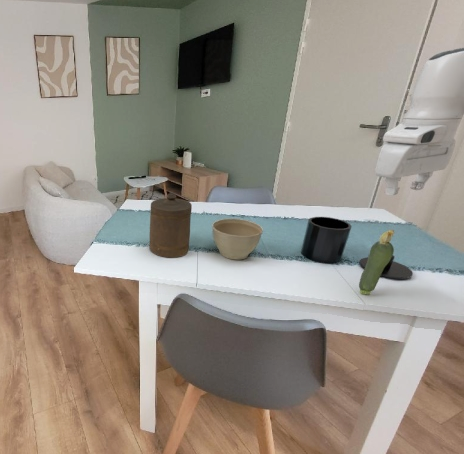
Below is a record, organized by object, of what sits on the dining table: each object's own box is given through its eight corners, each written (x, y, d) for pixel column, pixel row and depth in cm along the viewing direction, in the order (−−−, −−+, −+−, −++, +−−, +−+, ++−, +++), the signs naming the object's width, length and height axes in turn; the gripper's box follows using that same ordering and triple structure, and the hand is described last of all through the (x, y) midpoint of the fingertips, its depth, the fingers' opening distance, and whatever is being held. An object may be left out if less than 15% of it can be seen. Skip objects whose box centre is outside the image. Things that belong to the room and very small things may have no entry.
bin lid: (421, 275, 88) (428, 260, 86) (394, 284, 85) (400, 269, 83) (375, 257, 99) (379, 243, 97) (349, 264, 96) (353, 250, 94)
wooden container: (183, 239, 118) (187, 187, 110) (193, 257, 105) (198, 199, 96) (147, 240, 119) (147, 189, 110) (152, 258, 105) (153, 201, 97)
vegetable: (354, 287, 84) (377, 223, 76) (374, 291, 82) (399, 226, 74) (357, 295, 81) (381, 230, 73) (377, 299, 79) (404, 233, 71)
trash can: (349, 259, 98) (360, 226, 93) (324, 266, 95) (334, 232, 90) (316, 246, 108) (325, 214, 103) (293, 251, 105) (300, 219, 100)
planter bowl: (248, 244, 112) (252, 217, 108) (265, 265, 97) (271, 236, 93) (205, 244, 114) (208, 218, 110) (215, 265, 99) (219, 236, 95)
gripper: (436, 127, 70) (414, 183, 76) (379, 134, 64) (360, 194, 70) (473, 129, 65) (447, 189, 70) (414, 136, 59) (391, 201, 64)
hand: (403, 191), depth 70 cm, fingers open, 8 cm apart
